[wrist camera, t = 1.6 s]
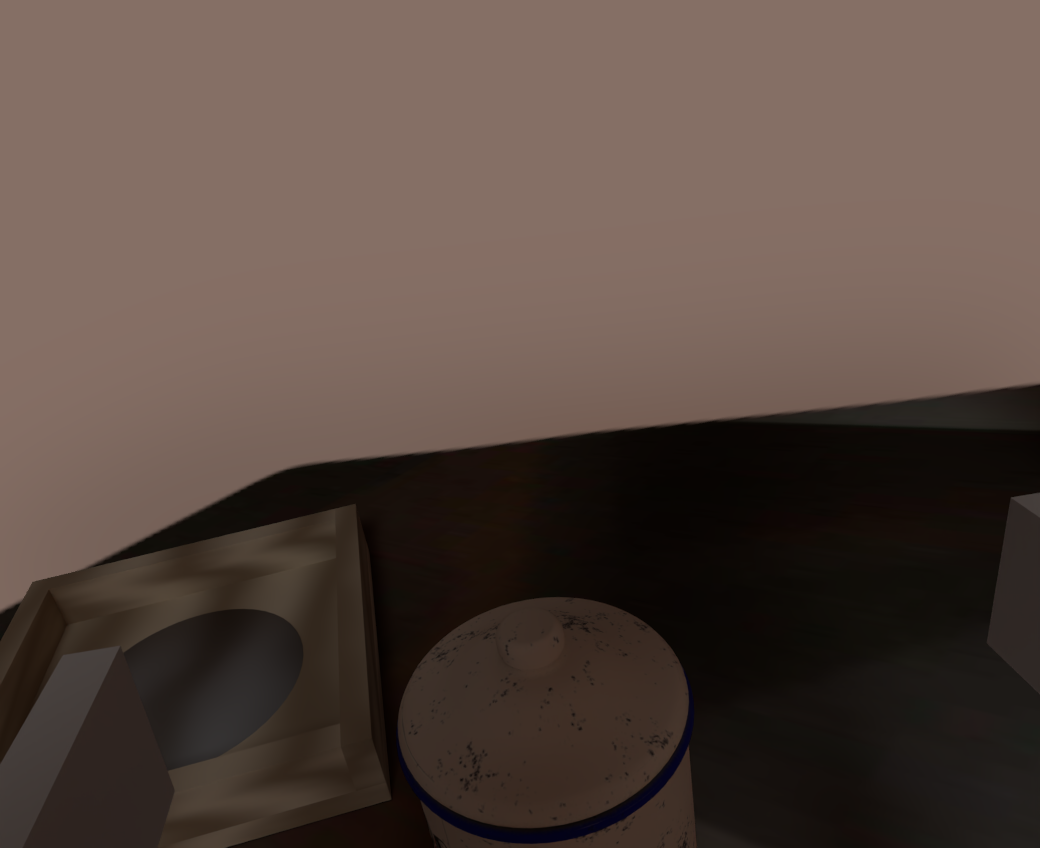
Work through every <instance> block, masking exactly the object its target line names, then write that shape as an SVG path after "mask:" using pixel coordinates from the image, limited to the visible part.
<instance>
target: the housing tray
mask: <svg viewBox="0 0 1040 848" xmlns="http://www.w3.org/2000/svg"><path fill="white" fill-rule="evenodd" d="M115 646H121V649H122V651H123V654H124V657H125V659H126V662H127V665H128V667H129V670H130V672H131V675H132V678H133V680H134V683H135V686H136V688H137V691H138V694H139V696H140V699H141V702H142V704H143V707H144V710H145V712H146V715H147V718H148V720H149V723H150V726H151V728H152V731H153V734H154V736H155V739H156V742H157V744H158V747H159V749H160V752H161V755H162V757H163V760H164V763H165V765H166V768H167V771H168V773H169V776H170V779H171V781H172V784H173V787H174V789H175V793H174V796H173V799H172V802H171V806H170V809H169V812H168V815H167V818H166V822H165V825H164V828H163V831H162V835H161V838H160V841H159V844H158V847H157V848H226V847H229V846H232V845H236V844H239V843H243V842H246V841H250V840H253V839H257V838H260V837H264V836H267V835H270V834H274V833H277V832H281V831H284V830H288V829H291V828H295V827H298V826H302V825H305V824H308V823H312V822H315V821H319V820H322V819H326V818H329V817H333V816H336V815H340V814H343V813H346V812H350V811H353V810H357V809H360V808H364V807H367V806H371V805H374V804H378V803H381V802H384V801H388V800H391V787H390V776H389V765H388V754H387V743H386V732H385V720H384V709H383V698H382V687H381V676H380V664H379V653H378V642H377V631H376V620H375V608H374V597H373V586H372V575H371V564H370V553H369V549H368V546H367V542H366V539H365V535H364V532H363V528H362V525H361V521H360V518H359V514H358V511H357V507H356V504H353V505H349V506H345V507H341V508H337V509H333V510H329V511H324V512H320V513H316V514H312V515H308V516H304V517H300V518H295V519H291V520H287V521H283V522H279V523H275V524H271V525H266V526H262V527H258V528H254V529H250V530H246V531H242V532H238V533H233V534H229V535H225V536H221V537H217V538H213V539H209V540H204V541H200V542H196V543H192V544H188V545H184V546H180V547H175V548H171V549H167V550H163V551H159V552H155V553H151V554H146V555H142V556H138V557H134V558H130V559H126V560H122V561H117V562H113V563H109V564H105V565H101V566H97V567H93V568H88V569H84V570H80V571H76V572H72V573H68V574H64V575H60V576H55V577H51V578H47V579H43V580H39V581H35V582H32V584H31V586H30V588H29V590H28V591H27V593H26V595H25V597H24V599H23V601H22V603H21V604H20V606H19V608H18V610H17V612H16V614H15V615H14V617H13V619H12V621H11V623H10V625H9V627H8V628H7V630H6V632H5V634H4V636H3V638H2V639H1V641H0V764H1V762H2V760H3V759H4V757H5V755H6V753H7V752H8V750H9V748H10V746H11V745H12V743H13V741H14V739H15V738H16V736H17V734H18V732H19V731H20V729H21V727H22V725H23V724H24V722H25V720H26V719H27V717H28V715H29V713H30V712H31V710H32V708H33V706H34V705H35V703H36V701H37V699H38V698H39V696H40V694H41V692H42V691H43V689H44V687H45V685H46V684H47V682H48V680H49V678H50V677H51V675H52V673H53V672H54V670H55V668H56V666H57V665H58V663H59V661H60V659H61V658H62V656H63V655H67V654H73V653H79V652H85V651H91V650H97V649H103V648H109V647H115Z"/></svg>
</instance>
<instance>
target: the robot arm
mask: <svg viewBox="0 0 1040 848" xmlns="http://www.w3.org/2000/svg"><path fill="white" fill-rule="evenodd" d="M987 644H988V645H989V646H990V647H991V648H992V649H993V650H994V651H996V652H997V653H998V654H999V655H1000V656H1001V657H1002V658H1003V659H1004V660H1005V661H1006V662H1007V663H1008V664H1009V665H1010V666H1011V667H1012V668H1013V669H1014V670H1015V671H1016V672H1017V673H1018V674H1019V675H1020V676H1021V677H1022V678H1023V679H1025V680H1026V681H1027V682H1028V683H1029V684H1030V685H1031V686H1032V687H1033V688H1034V689H1035V690H1036V691H1037V692H1038V693H1039V694H1040V493H1036V494H1030V495H1024V496H1018V497H1012V498H1011V500H1010V506H1009V512H1008V518H1007V524H1006V530H1005V536H1004V542H1003V548H1002V555H1001V561H1000V567H999V573H998V579H997V585H996V591H995V597H994V603H993V609H992V615H991V621H990V627H989V633H988V639H987ZM174 793H175V789H174V787H173V784H172V781H171V779H170V776H169V773H168V771H167V768H166V765H165V763H164V760H163V757H162V755H161V752H160V749H159V747H158V744H157V742H156V739H155V736H154V734H153V731H152V728H151V726H150V723H149V720H148V718H147V715H146V712H145V710H144V707H143V704H142V702H141V699H140V696H139V694H138V691H137V688H136V686H135V683H134V680H133V678H132V675H131V672H130V670H129V667H128V665H127V662H126V659H125V657H124V654H123V651H122V649H121V646H115V647H109V648H103V649H97V650H91V651H85V652H79V653H73V654H67V655H63V656H62V658H61V659H60V661H59V663H58V665H57V666H56V668H55V670H54V672H53V673H52V675H51V677H50V678H49V680H48V682H47V684H46V685H45V687H44V689H43V691H42V692H41V694H40V696H39V698H38V699H37V701H36V703H35V705H34V706H33V708H32V710H31V712H30V713H29V715H28V717H27V719H26V720H25V722H24V724H23V725H22V727H21V729H20V731H19V732H18V734H17V736H16V738H15V739H14V741H13V743H12V745H11V746H10V748H9V750H8V752H7V753H6V755H5V757H4V759H3V760H2V762H1V764H0V848H157V847H158V844H159V841H160V838H161V835H162V831H163V828H164V825H165V822H166V818H167V815H168V812H169V809H170V806H171V802H172V799H173V796H174Z"/></svg>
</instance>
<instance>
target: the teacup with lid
mask: <svg viewBox="0 0 1040 848" xmlns="http://www.w3.org/2000/svg"><path fill="white" fill-rule="evenodd" d="M693 723H694V701H693V695H692V690H691V686H690V683H689V680H688V677H687V675H686V673H685V671H684V669H683V667H682V665H681V664H680V662H679V660H678V658H677V656H676V655H675V653H674V652H673V650H672V649H671V648H670V646H669V645H668V644H667V643H666V641H665V640H664V639H663V638H662V637H661V636H660V635H659V634H658V633H657V632H656V631H655V630H653V629H652V628H651V627H650V626H648V625H647V624H646V623H645V622H643V621H642V620H640V619H638V618H637V617H635V616H633V615H631V614H630V613H628V612H626V611H623V610H621V609H619V608H616V607H613V606H610V605H608V604H604V603H601V602H597V601H592V600H586V599H580V598H569V597H547V598H536V599H530V600H524V601H519V602H515V603H511V604H507V605H504V606H501V607H498V608H495V609H492V610H489V611H487V612H485V613H483V614H480V615H478V616H476V617H474V618H472V619H470V620H469V621H467V622H465V623H464V624H462V625H460V626H459V627H457V628H456V629H454V630H453V631H452V632H450V633H449V634H448V635H446V636H445V637H444V638H443V639H442V640H440V641H439V642H438V643H437V644H436V645H435V646H434V647H433V648H432V649H431V650H430V651H429V652H428V654H427V655H426V656H425V657H424V658H423V660H422V661H421V662H420V664H419V665H418V666H417V668H416V670H415V671H414V673H413V675H412V677H411V679H410V681H409V683H408V685H407V687H406V689H405V692H404V695H403V698H402V700H401V705H400V709H399V716H398V721H397V730H396V745H397V751H398V757H399V761H400V764H401V768H402V770H403V773H404V775H405V777H406V780H407V781H408V783H409V785H410V786H411V788H412V790H413V791H414V793H415V794H416V795H417V796H418V798H419V799H420V801H421V804H422V808H423V811H424V814H425V818H426V821H427V824H428V828H429V831H430V834H431V838H432V841H433V844H434V848H697V843H696V830H695V818H694V805H693V793H692V780H691V767H690V755H689V742H690V739H691V735H692V729H693Z"/></svg>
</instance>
